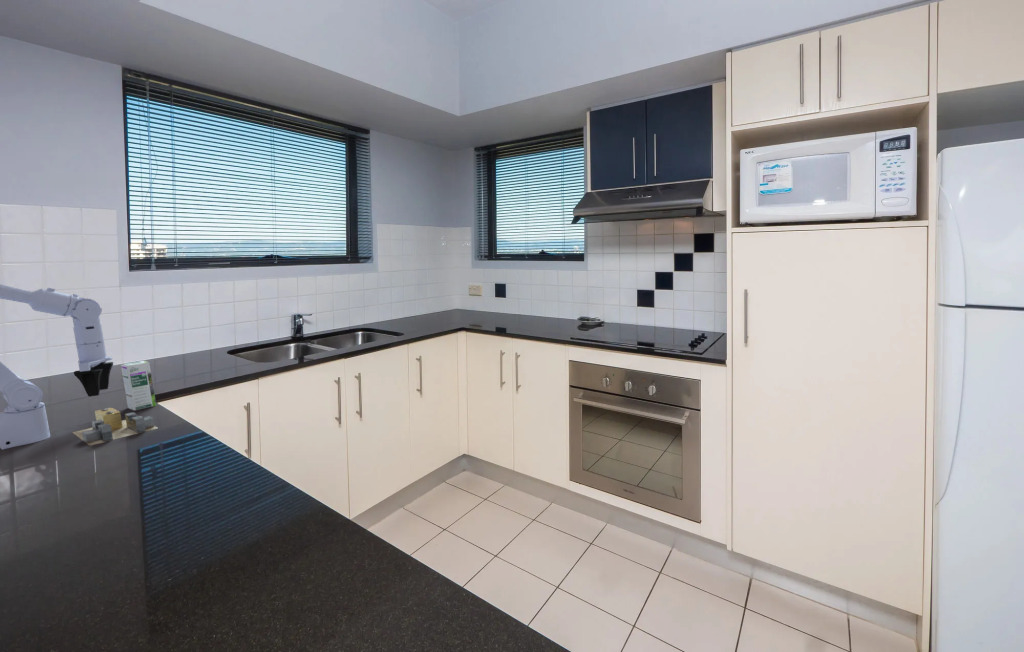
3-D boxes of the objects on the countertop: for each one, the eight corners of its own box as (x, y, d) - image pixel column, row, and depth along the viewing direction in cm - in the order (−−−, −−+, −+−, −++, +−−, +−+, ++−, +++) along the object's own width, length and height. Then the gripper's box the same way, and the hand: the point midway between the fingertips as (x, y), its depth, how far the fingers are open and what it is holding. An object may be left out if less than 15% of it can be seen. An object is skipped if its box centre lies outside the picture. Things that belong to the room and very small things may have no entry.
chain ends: (90, 445, 118) (87, 430, 117) (80, 438, 123) (78, 424, 123) (158, 428, 129) (155, 414, 128) (146, 422, 134) (144, 409, 134)
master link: (105, 431, 128) (102, 414, 127) (97, 426, 133) (94, 410, 132) (122, 427, 131) (119, 411, 130) (113, 422, 136) (111, 406, 135)
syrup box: (134, 413, 147) (126, 365, 145) (127, 410, 150) (120, 363, 148) (157, 408, 151) (149, 361, 149) (150, 405, 155) (142, 359, 153)
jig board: (90, 448, 118) (89, 445, 118) (72, 435, 129) (72, 432, 129) (158, 431, 129) (158, 428, 129) (137, 419, 140) (137, 417, 140)
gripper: (100, 345, 128) (108, 396, 129) (116, 338, 141) (124, 384, 142) (65, 348, 125) (74, 400, 127) (85, 340, 138) (93, 388, 140)
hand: (98, 392), depth 134 cm, fingers open, 7 cm apart
